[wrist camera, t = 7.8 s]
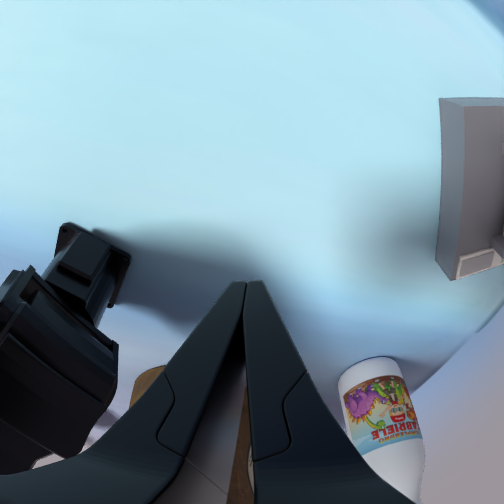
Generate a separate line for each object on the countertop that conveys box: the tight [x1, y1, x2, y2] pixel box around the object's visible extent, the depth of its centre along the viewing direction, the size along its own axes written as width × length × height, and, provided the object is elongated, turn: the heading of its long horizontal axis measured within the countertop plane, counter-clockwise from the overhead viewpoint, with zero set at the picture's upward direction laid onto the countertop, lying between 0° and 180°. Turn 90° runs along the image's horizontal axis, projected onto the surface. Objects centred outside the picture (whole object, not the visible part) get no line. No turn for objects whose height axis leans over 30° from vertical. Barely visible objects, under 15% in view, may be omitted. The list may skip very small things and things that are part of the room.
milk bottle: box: [338, 357, 425, 504], centre depth 25 cm, size 8×8×20 cm
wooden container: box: [129, 366, 254, 504], centre depth 26 cm, size 15×15×22 cm
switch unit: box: [435, 97, 504, 281], centre depth 18 cm, size 10×14×5 cm
